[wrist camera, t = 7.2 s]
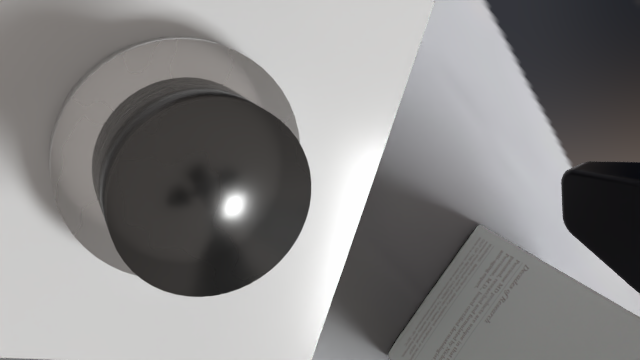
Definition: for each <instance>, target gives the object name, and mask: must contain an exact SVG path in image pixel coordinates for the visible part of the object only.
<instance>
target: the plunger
mask: <svg viewBox="0 0 640 360" xmlns="http://www.w3.org/2000/svg"><path fill="white" fill-rule="evenodd" d="M49 171H50V178H51V185H52V191H53V194H54V197H55V201H56V204H57V207H58V209H59V212H60V214H61V216H62V218H63V220H64V222H65V224H66V225H67V227H68V228H69V230H70V231H71V233H72V234H73V235H74V237H75V238H76V239H77V240H78V241H79V242H80V243H81V244H82V245H83V247H84V248H86V249H87V250H88V251H89V252H90V253H92V254H93V255H94V256H95V257H97V258H98V259H100V260H101V261H103V262H105V263H106V264H108V265H109V266H112V267H114V268H116V269H118V270H121V271H123V272H126V273H129V274H132V275H136V276H138V277H139V278H141V279H142V280H144V281H145V282H147V283H148V284H150V285H152V286H153V287H156V288H158V289H160V290H162V291H165V292H169V293H172V294H175V295H181V296H188V297H206V296H215V295H220V294H225V293H229V292H232V291H235V290H238V289H240V288H242V287H244V286H247V285H249V284H251V283H253V282H254V281H256V280H258V279H259V278H261V277H262V276H264V275H265V274H266V273H268V272H269V271H270V270H272V269H273V268H274V267H275V266H276V265H277V264H278V263H279V262H280V261H281V260H282V259H283V258H284V257H285V255H286V254H287V253H288V252H289V251H290V249H291V248H292V246H293V245H294V243H295V242H296V240H297V238H298V236H299V235H300V233H301V231H302V229H303V226H304V223H305V221H306V218H307V215H308V211H309V207H310V200H311V175H310V169H309V165H308V161H307V158H306V155H305V153H304V150H303V148H302V146H301V145H300V138H299V130H298V127H297V123H296V119H295V116H294V113H293V111H292V108H291V106H290V103H289V101H288V100H287V98H286V96H285V94H284V93H283V91H282V89H281V88H280V87H279V86H278V84H277V83H276V82H275V80H274V79H273V78H272V77H271V76H270V75H269V74H268V73H267V72H266V71H265V70H264V69H263V68H262V67H261V66H259V65H258V64H257V63H255V62H254V61H253V60H251V59H250V58H248V57H246V56H245V55H243V54H241V53H239V52H237V51H236V50H233V49H231V48H228V47H226V46H223V45H221V44H218V43H215V42H213V41H209V40H205V39H200V38H195V37H185V36H167V37H158V38H152V39H147V40H143V41H140V42H137V43H134V44H130V45H128V46H126V47H124V48H122V49H120V50H117V51H115V52H113V53H112V54H110V55H109V56H107V57H106V58H104V59H102V60H101V61H99V62H98V63H97V64H96V65H95V66H93V67H92V68H91V69H90V70H89V71H87V72H86V73H85V74H84V75H83V77H82V78H81V79H80V80H79V81H78V82H77V83H76V84H75V86H74V87H73V88H72V90H71V91H70V93H69V94H68V96H67V97H66V99H65V100H64V102H63V104H62V106H61V108H60V111H59V113H58V115H57V117H56V120H55V123H54V127H53V130H52V133H51V139H50V146H49Z"/></svg>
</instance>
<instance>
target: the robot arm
mask: <svg viewBox="0 0 640 360" xmlns="http://www.w3.org/2000/svg"><path fill="white" fill-rule="evenodd" d="M561 185H562V211H563V220H564V224H565V226H566V227H567V229H568V230H569V232H570V233H571V234H572V235H573V236H575V237H576V238H577V239H578V240H579V241H580V242H581V243H583V244H584V245H585V246H586V247H587V248H588V249H589V250H590V251H592V252H593V253H594V254H595V255H596V256H597V257H598V258H600V259H601V260H602V261H603V262H604V263H605V264H606V265H608V266H609V267H610V268H611V269H612V270H613V271H614V272H615V273H617V274H618V275H619V276H620V277H621V278H622V279H623V280H625V281H626V282H627V283H628V284H629V285H630V286H631V287H633V288H634V289H635V290H636V291H637V292H639V293H640V162H639V163H638V162H585V163H582V164H580V165H578V166H575V167H573V168H571V169H569V170H567V171H566V172H565V173H564V174H563V177H562V182H561Z"/></svg>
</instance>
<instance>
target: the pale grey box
mask: <svg viewBox="0 0 640 360" xmlns="http://www.w3.org/2000/svg"><path fill="white" fill-rule="evenodd" d="M434 3H435V1H433V0H0V358H21V359H50V360H312V357H313V354H314V351H315V348H316V345H317V343H318V340H319V337H320V334H321V331H322V328H323V325H324V322H325V319H326V316H327V314H328V311H329V308H330V305H331V302H332V299H333V296H334V293H335V290H336V287H337V284H338V282H339V279H340V276H341V273H342V270H343V267H344V264H345V261H346V258H347V255H348V253H349V250H350V247H351V244H352V241H353V238H354V235H355V232H356V229H357V226H358V224H359V221H360V218H361V215H362V212H363V209H364V206H365V203H366V200H367V197H368V195H369V192H370V189H371V186H372V183H373V180H374V177H375V174H376V171H377V168H378V166H379V163H380V160H381V157H382V154H383V151H384V148H385V145H386V142H387V139H388V137H389V134H390V131H391V128H392V125H393V122H394V119H395V116H396V113H397V110H398V108H399V105H400V102H401V99H402V96H403V93H404V90H405V87H406V84H407V81H408V78H409V76H410V73H411V70H412V67H413V64H414V61H415V58H416V55H417V52H418V49H419V47H420V44H421V41H422V38H423V35H424V32H425V29H426V26H427V23H428V20H429V18H430V15H431V12H432V9H433V6H434ZM167 36H185V37H195V38H200V39H205V40H209V41H213V42H215V43H218V44H221V45H223V46H226V47H228V48H231V49H233V50H236V51H237V52H239V53H241V54H243V55H245V56H246V57H248V58H250V59H251V60H253V61H254V62H255V63H257V64H258V65H259V66H261V67H262V68H263V69H264V70H265V71H266V72H267V73H268V74H269V75H270V76H271V77H272V78H273V79H274V80H275V82H276V83H277V84H278V86H279V87H280V88H281V89H282V91H283V93H284V94H285V96H286V98H287V100H288V101H289V103H290V106H291V108H292V111H293V113H294V116H295V119H296V123H297V127H298V130H299V138H300V145H301V146H302V148H303V150H304V153H305V155H306V158H307V161H308V165H309V169H310V175H311V200H310V207H309V211H308V215H307V218H306V221H305V223H304V226H303V229H302V231H301V233H300V235H299V236H298V238H297V240H296V242H295V243H294V245H293V246H292V248H291V249H290V251H289V252H288V253H287V254H286V255H285V257H284V258H283V259H282V260H281V261H280V262H279V263H278V264H277V265H276V266H275V267H274V268H273V269H272V270H270V271H269V272H268V273H266V274H265V275H264V276H262V277H261V278H259V279H258V280H256V281H254V282H253V283H251V284H249V285H247V286H244V287H242V288H240V289H238V290H235V291H232V292H229V293H225V294H220V295H215V296H206V297H188V296H181V295H175V294H172V293H169V292H165V291H162V290H160V289H158V288H156V287H153V286H152V285H150V284H148V283H147V282H145V281H144V280H142V279H141V278H139V277H138V276H136V275H132V274H129V273H126V272H123V271H121V270H118V269H116V268H114V267H112V266H109V265H108V264H106V263H105V262H103V261H101V260H100V259H98V258H97V257H95V256H94V255H93V254H92V253H90V252H89V251H88V250H87V249H86V248H84V247H83V245H82V244H81V243H80V242H79V241H78V240H77V239H76V238H75V237H74V235H73V234H72V233H71V231H70V230H69V228H68V227H67V225H66V224H65V222H64V220H63V218H62V216H61V214H60V212H59V209H58V207H57V204H56V201H55V197H54V194H53V191H52V185H51V178H50V171H49V146H50V139H51V133H52V130H53V127H54V123H55V120H56V117H57V115H58V113H59V111H60V108H61V106H62V104H63V102H64V100H65V99H66V97H67V96H68V94H69V93H70V91H71V90H72V88H73V87H74V86H75V84H76V83H77V82H78V81H79V80H80V79H81V78H82V77H83V75H84V74H85V73H86V72H87V71H89V70H90V69H91V68H92V67H93V66H95V65H96V64H97V63H98V62H99V61H101V60H102V59H104V58H106V57H107V56H109V55H110V54H112V53H113V52H115V51H117V50H120V49H122V48H124V47H126V46H128V45H130V44H134V43H137V42H140V41H143V40H147V39H152V38H158V37H167Z"/></svg>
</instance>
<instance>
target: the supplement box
mask: <svg viewBox="0 0 640 360" xmlns="http://www.w3.org/2000/svg"><path fill="white" fill-rule="evenodd" d="M388 356H389V359H390V360H640V317H639V316H637V315H635V314H633V313H631V312H630V311H628V310H626V309H625V308H623V307H621V306H619V305H618V304H616V303H614V302H613V301H611V300H609V299H607V298H606V297H604V296H602V295H601V294H599V293H597V292H595V291H594V290H592V289H590V288H588V287H587V286H585V285H583V284H582V283H580V282H578V281H577V280H575V279H573V278H571V277H570V276H568V275H566V274H565V273H563V272H561V271H559V270H557V269H556V268H554V267H552V266H550V265H549V264H547V263H545V262H543V261H542V260H540V259H538V258H537V257H535V256H533V255H532V254H530V253H528V252H526V251H525V250H523V249H521V248H520V247H518V246H516V245H515V244H513V243H511V242H509V241H508V240H506V239H504V238H502V237H501V236H499V235H497V234H496V233H494V232H492V231H491V230H489V229H487V228H486V227H484V226H483V225H478V226H477V227H476V229H475V230H474V231H473V233H472V234H471V235H470V237H469V238H468V240H467V241H466V242H465V244H464V245H463V246H462V248H461V249H460V251H459V252H458V254H457V255H456V256H455V258H454V259H453V261H452V262H451V264H450V265H449V266H448V268H447V269H446V271H445V272H444V273H443V275H442V276H441V277H440V279H439V280H438V282H437V283H436V285H435V286H434V288H433V289H432V290H431V292H430V293H429V294H428V296H427V297H426V299H425V300H424V301H423V303H422V304H421V306H420V307H419V309H418V310H417V312H416V313H415V314H414V316H413V317H412V319H411V320H410V322H409V323H408V325H407V326H406V327H405V329H404V330H403V332H402V333H401V334H400V336H399V337H398V339H397V340H396V342H395V343H394V345H393V347H392V348H391V350H390V351H389V355H388Z"/></svg>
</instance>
